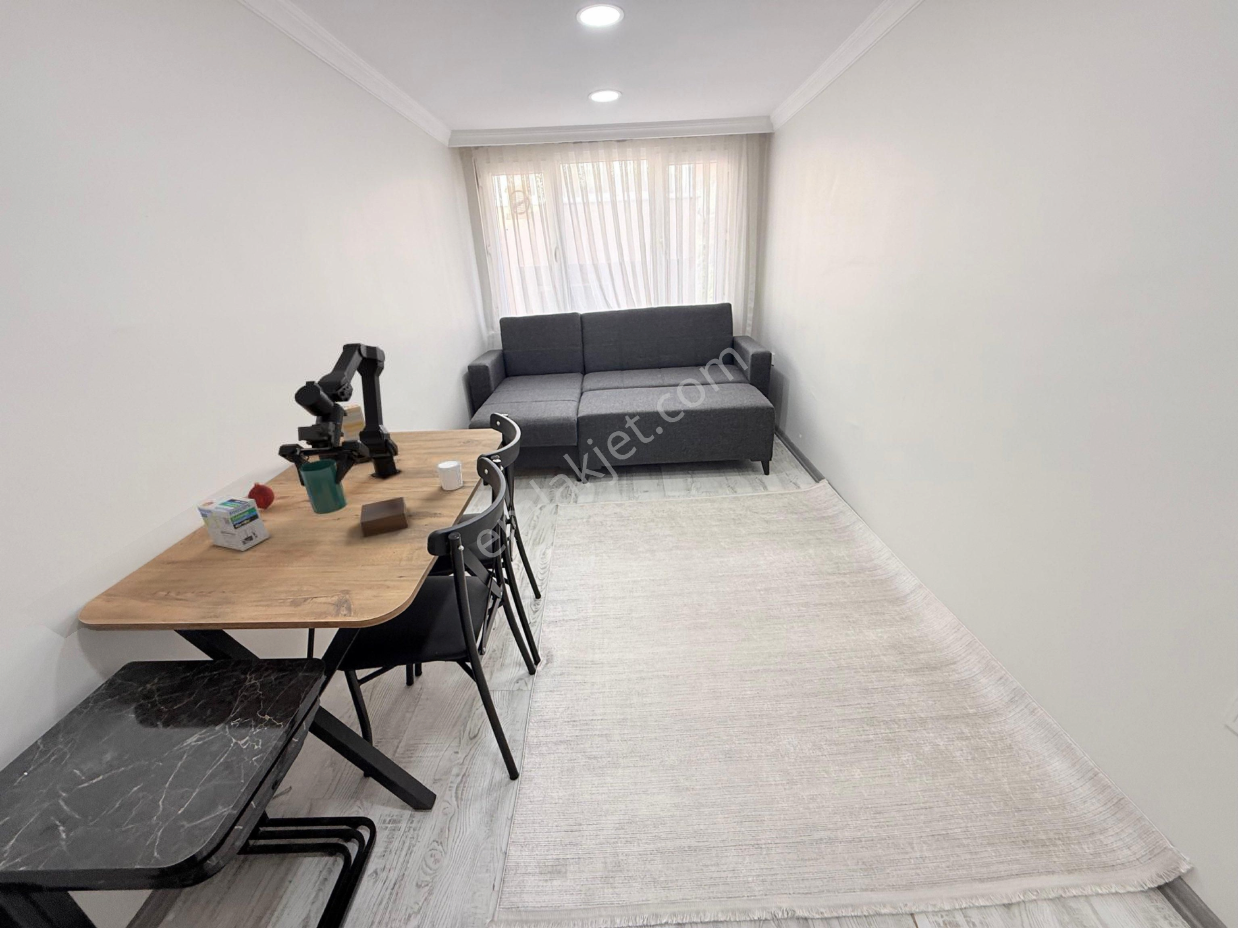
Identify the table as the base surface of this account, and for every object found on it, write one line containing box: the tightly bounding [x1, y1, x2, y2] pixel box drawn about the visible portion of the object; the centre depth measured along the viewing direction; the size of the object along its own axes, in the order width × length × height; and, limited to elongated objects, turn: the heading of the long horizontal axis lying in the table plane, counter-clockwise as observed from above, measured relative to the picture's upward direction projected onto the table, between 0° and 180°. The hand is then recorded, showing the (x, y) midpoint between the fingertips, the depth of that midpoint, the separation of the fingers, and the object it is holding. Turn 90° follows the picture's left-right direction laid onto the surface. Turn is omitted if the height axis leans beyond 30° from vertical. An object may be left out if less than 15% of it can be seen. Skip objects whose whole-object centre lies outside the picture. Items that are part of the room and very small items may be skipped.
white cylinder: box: [435, 459, 464, 491], centre depth 143 cm, size 7×7×7 cm
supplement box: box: [341, 403, 365, 441], centre depth 181 cm, size 8×5×13 cm, turn 123°
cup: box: [299, 459, 348, 515], centre depth 118 cm, size 7×7×11 cm
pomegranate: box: [247, 481, 275, 510], centre depth 134 cm, size 6×6×8 cm
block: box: [359, 496, 409, 538], centre depth 125 cm, size 10×10×4 cm
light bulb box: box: [196, 494, 270, 552], centre depth 118 cm, size 11×7×11 cm, turn 71°
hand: (320, 484), depth 116 cm, fingers closed on cup, 7 cm apart
